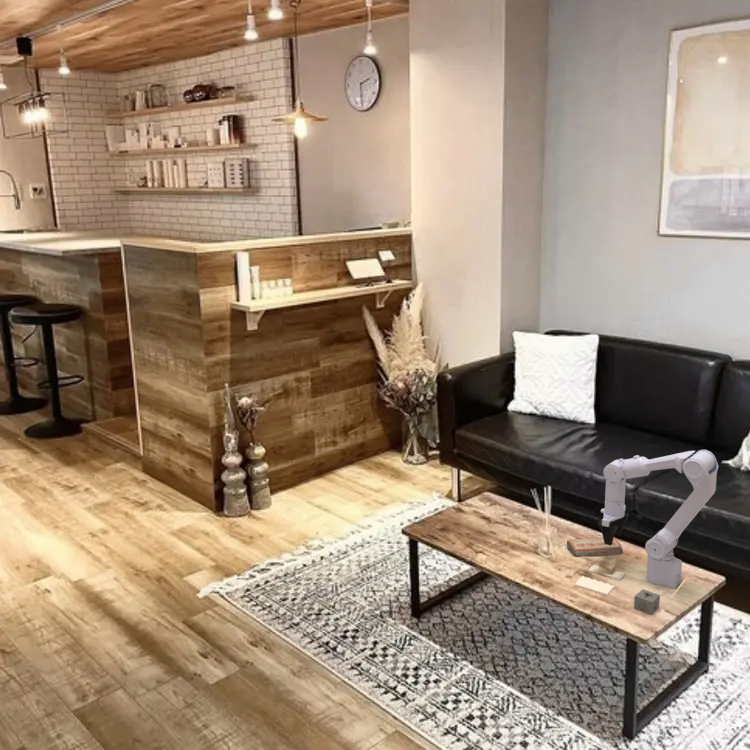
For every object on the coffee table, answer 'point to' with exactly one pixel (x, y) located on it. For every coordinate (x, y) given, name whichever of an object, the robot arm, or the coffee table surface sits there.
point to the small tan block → (607, 568)
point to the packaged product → (593, 547)
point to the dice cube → (646, 601)
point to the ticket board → (594, 585)
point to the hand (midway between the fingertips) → (612, 539)
